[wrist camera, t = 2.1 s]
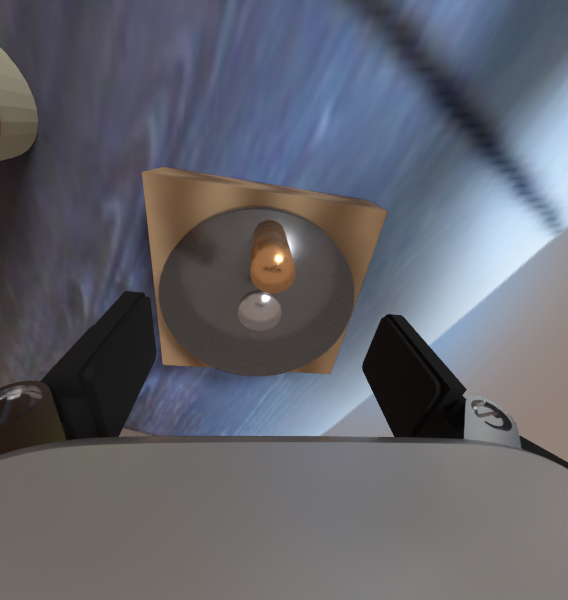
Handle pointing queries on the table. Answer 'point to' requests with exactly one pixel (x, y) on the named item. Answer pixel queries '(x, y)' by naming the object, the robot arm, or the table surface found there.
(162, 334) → the block
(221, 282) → the handwheel
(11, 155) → the reusable coffee cup
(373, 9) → the table surface
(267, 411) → the table surface
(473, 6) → the table surface
